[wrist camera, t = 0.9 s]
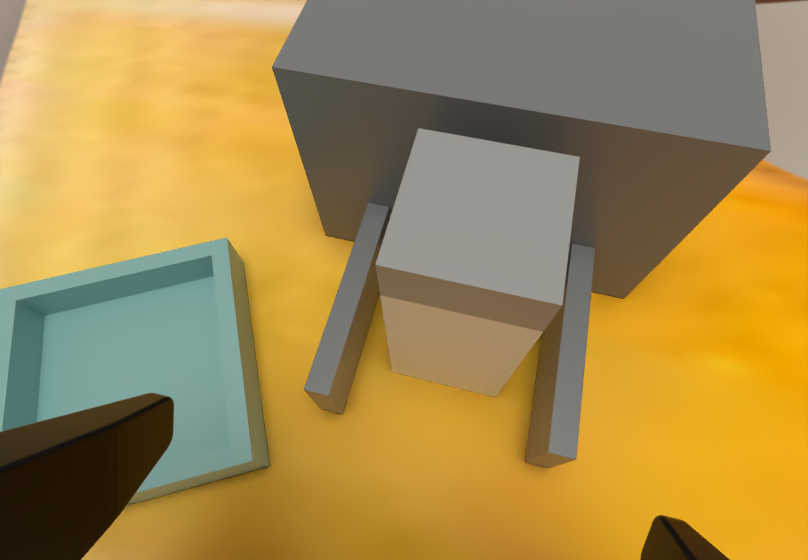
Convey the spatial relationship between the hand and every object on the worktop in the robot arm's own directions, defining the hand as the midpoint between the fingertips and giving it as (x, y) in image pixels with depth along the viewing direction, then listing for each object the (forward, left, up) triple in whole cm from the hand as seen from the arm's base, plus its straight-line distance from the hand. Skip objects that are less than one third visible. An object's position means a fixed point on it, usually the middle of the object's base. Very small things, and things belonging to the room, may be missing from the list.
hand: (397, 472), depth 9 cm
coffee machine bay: (+10, -4, -13) cm, 17 cm away
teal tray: (+6, +12, -13) cm, 19 cm away
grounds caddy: (+7, -3, -13) cm, 15 cm away
